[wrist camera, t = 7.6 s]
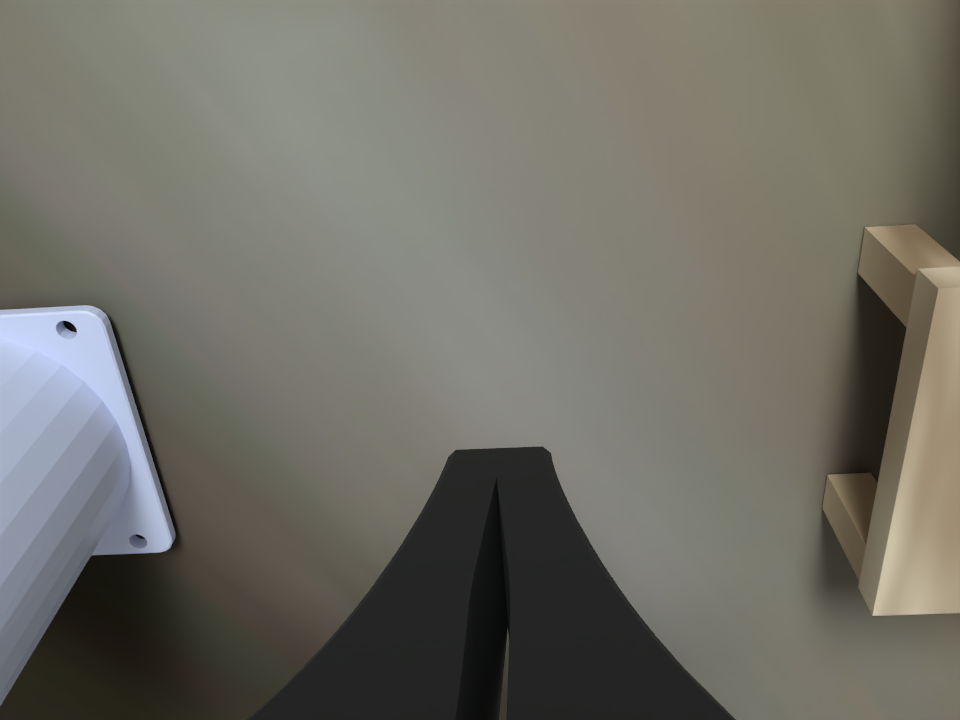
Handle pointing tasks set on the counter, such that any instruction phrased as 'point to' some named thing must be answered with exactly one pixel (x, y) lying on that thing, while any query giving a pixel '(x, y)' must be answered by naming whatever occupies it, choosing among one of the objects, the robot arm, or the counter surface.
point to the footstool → (910, 438)
